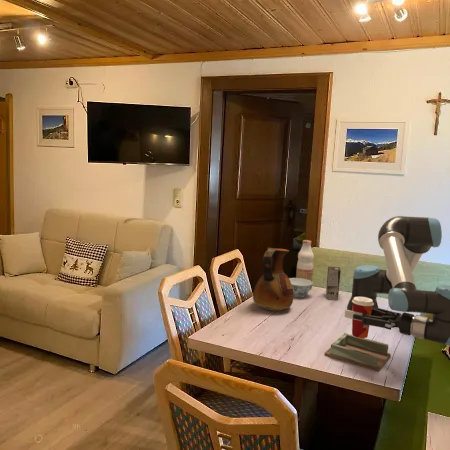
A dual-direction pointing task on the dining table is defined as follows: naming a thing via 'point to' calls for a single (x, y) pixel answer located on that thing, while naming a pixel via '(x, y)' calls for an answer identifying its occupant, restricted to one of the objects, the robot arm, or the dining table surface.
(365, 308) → the paper cup
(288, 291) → the ceramic pitcher
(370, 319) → the robot arm
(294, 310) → the dining table surface
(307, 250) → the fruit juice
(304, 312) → the dining table surface
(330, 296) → the coffee box
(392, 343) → the dining table surface
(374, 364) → the bay
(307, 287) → the chinaware
